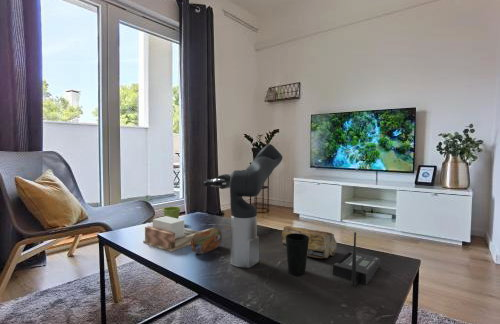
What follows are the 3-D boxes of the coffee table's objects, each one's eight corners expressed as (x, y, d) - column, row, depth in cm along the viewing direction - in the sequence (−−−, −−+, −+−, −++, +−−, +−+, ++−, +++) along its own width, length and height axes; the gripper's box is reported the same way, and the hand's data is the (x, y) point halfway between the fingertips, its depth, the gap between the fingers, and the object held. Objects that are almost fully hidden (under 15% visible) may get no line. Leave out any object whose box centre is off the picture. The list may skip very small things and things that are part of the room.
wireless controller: (344, 260, 105) (346, 215, 104) (384, 270, 97) (386, 221, 96) (322, 279, 90) (323, 226, 89) (367, 293, 81) (369, 235, 80)
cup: (303, 279, 88) (303, 242, 88) (281, 273, 92) (281, 237, 92) (311, 270, 95) (312, 235, 94) (290, 265, 99) (291, 231, 98)
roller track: (207, 238, 128) (207, 223, 127) (171, 251, 110) (171, 234, 110) (180, 231, 138) (180, 217, 137) (143, 242, 120) (143, 227, 120)
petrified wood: (278, 250, 112) (280, 225, 113) (293, 248, 122) (295, 225, 123) (324, 261, 100) (326, 233, 102) (337, 258, 110) (338, 232, 112)
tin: (194, 257, 106) (194, 235, 105) (189, 255, 107) (189, 233, 107) (222, 246, 117) (222, 226, 117) (216, 244, 119) (216, 225, 119)
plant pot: (162, 222, 153) (162, 206, 152) (180, 221, 155) (180, 206, 155) (162, 227, 144) (162, 210, 143) (181, 226, 146) (181, 209, 146)
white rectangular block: (184, 236, 120) (184, 220, 119) (171, 240, 114) (171, 223, 114) (165, 231, 126) (165, 216, 126) (152, 235, 121) (152, 219, 120)
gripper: (217, 173, 154) (194, 175, 140) (236, 174, 146) (214, 177, 132) (217, 187, 154) (194, 190, 140) (236, 189, 147) (214, 193, 133)
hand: (204, 184), depth 136 cm, fingers closed
